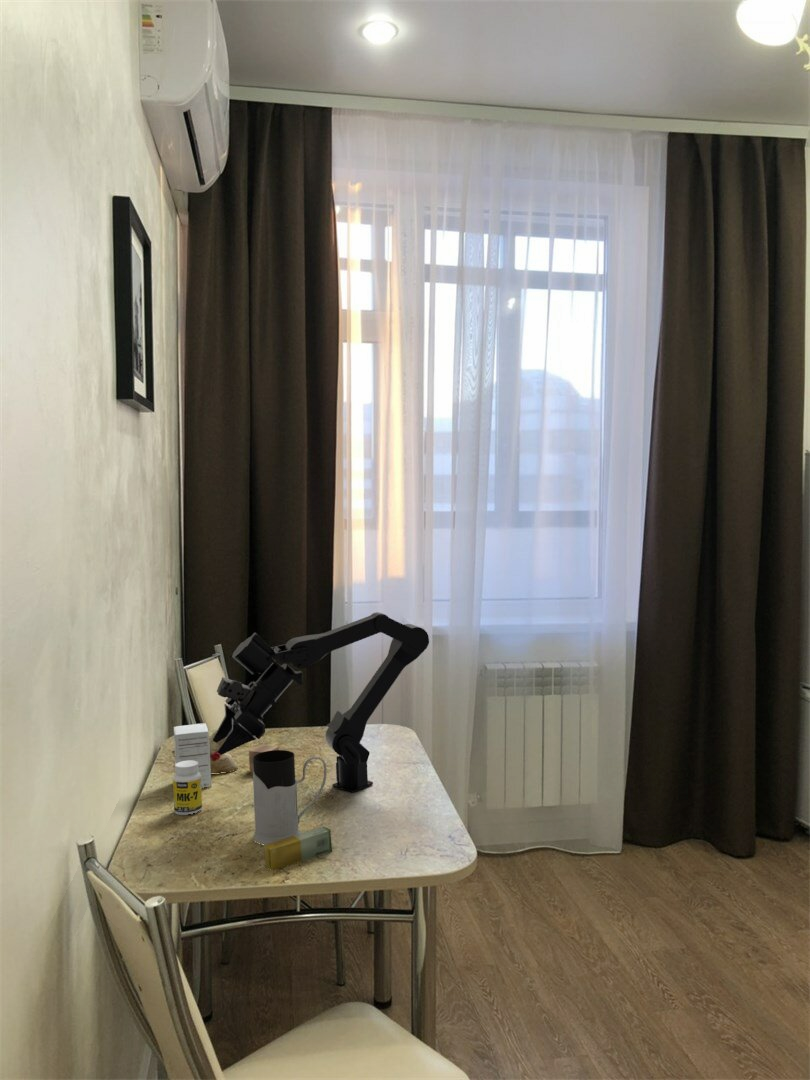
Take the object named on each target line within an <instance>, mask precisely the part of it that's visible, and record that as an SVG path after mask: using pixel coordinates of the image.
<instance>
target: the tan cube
mask: <svg viewBox="0 0 810 1080" xmlns="http://www.w3.org/2000/svg"><path fill="white" fill-rule="evenodd" d="M279 748H280V747H279V746H277V745H269V744H268V745H267V744H259V745H257V746H256V747H254V748H252V749H250V750H248V763H249V764H248V765H249V773H253V771H254V765H253V757H254V756H255V755H257V754H259V753H262V752H266V751H272V750H280V749H279Z"/></svg>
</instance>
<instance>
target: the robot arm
mask: <svg viewBox="0 0 810 1080" xmlns="http://www.w3.org/2000/svg"><path fill="white" fill-rule="evenodd" d="M380 633H382V634H384V635H386V636H388V637H390V638H391V639H392V640H391V642H390V645H389V648H388V651H387V652H388V653H387V655H386V657H385V658H384V660H383V661H382V663H381V664H380V666H379V668H378V669H377V670H376V671H375V672H374V674H373V676H372V677H371V679H370V680H369V681H368V682H367V684H366V685H365V687H364V688H363V690H362V691H361V692H360V694H359V695H358V697H357V699H356V700H355V701H354V702H353V705H352V706H351V707H350V708H349V709H348V710H347V711H345V712H344V713H343V714H342V713H341V712H340V711H339V710H336V713H335V714H334V716H333V718H332V720H331V721H330V722H329V723H327V724H326V727H327V729H326V732H325V741H326V743H327V744H328V746H329V747H330V748H331V749H332V750H333V751H334V752H335V753H336V754H337V755H338V756H336V763H335V775H336V782H334V783H332V784H331V785H332V787H333V788H336V789H339V790H342V791H347V792H348V793H349V792H350V793H355V792H357V791H360V790H363V789H365V788H367V787H371V786H372V785H373V784H374V782H373V781H372V780H371V781H370V780H368V779H369V778H368V777H369V775H368V760H369V756H370V751H369V750H368V749H367V748H366V747H365V746H364V745H363V744H362V743H361V741H362V740H363V737H364V734H365V731H366V728H367V727H366V726H367V724H368V721H369V719H370V718H371V717H372V715H373V713H374V712H375V710H377V708H378V707H379V705H380V704H381V701H382V700H383V699H384V698H385V696H386V695H387V693H388V692H389V690H390V689H391V688H392V686H393V685H394V683H395V681H396V680H397V679H398V677H399V676H400V674H401V673H402V672H403V670H404V669H405V668H406V667H407V666H408V665H410V664H411V663H413V662H414V661H416V659H418V658H419V657H420V656H421V655H422V654H423V653H424V652H425V650H426V649H428V646H429V645H430V637H429V634H428V632H427V631H426V630H425V629H424V628H422V627H420V626H417V625H415V624H411V623H405V624H403V623H401V622H398V621H397V620H395V619H392V618H390V617H389V616H388V615H386V614H384V613H383V612H378V611H377V612H373V613H372V614H370V615H369V616H368V615H367V616H366V617H363V618H360V619H357V620H355V621H352V622H350V623H346V624H344V625H342V626H339V627H337V628H334V629H332V630H328V631H326V632H321V633H317V634H316V633H315V634H308V635H307V634H306V635H302V636H297V637H293V638H291V639H289V640H288V641H287V642H286V643H285V644H281V645H280V644H279V645H276V646H270V645H268V643H266V642H265V640H263V638H262V637H261V636H260V635H259V634H258V633H257V632H253V633H252V635H251V636H249V637H248V638H246V639H244V641H242V642H241V643H240V644H238V646H237V647H236V649H235V650H234V652H233V653H232V655H231V656H232V658H233V659H234V660H235V661H236V662H238V664H240V665H241V666H242V667H244V668H245V669H246V670H247V671H248V672H249V673H250V674H251V675H254V674H256V673H257V674H261V676H259V678H258V679H257V680H256V681H255V680H253V681H251V682H249V684H243V683H242V682H241V681H237V680H236V679H233V680H232V679H230V678H227V677H223V676H222V677H221V680H220V682H219V685H218V687H217V689H216V693H217V695H218V696H220V697H222V698H226V699H225V700H224V701H225V703H224V705H223V706H224V717H223V719H222V720H221V723H220V724H219V727H218V728H217V729H216V730H217V732H216V734H215V736H214V738H213V741H214V742H216V743H217V742H219V741H221V740H222V739H224V738H225V740H224V741H223V743H222V744H221V746H220V748H219V749H218V753H219V754H220V755H223V754H225V753H227V754H228V753H229V752H231V751H232V750H235V749H237V748H239V747H241V746H243V745H245V744H248V743H249V742H252V741H256V740H257V739H258V740H260V739H261V738H262V737H263V736H264V734H265V733H266V725H265V723H264V722H263V720H264V719H265V718H264V717H263V716H264V715H265V714H266V712H268V711H269V709H270V708H271V707H275V706H276V705H277V704H278V702H277V701H278V699H279V698H280V697H281V695H282V694H283V693H284V692H285V691H286V689H287V688H288V687H289V686H290V685H291V684H292V683H293V682H295V683H296V684H297V685H298V686H300V687H303V685H304V684H303V674H304V673H303V672H302V671H301V670H298V671H297V670H296V671H295V670H294V668H292V667H291V666H290V665H289V664H291V665H292V666H293V667H296V668H297V669H307V668H309V667H311V666H313V665H315V664H316V663H318V662H319V661H321V660H322V659H323V658H324V657H325V656H327V655H328V654H330V653H331V652H334V651H335V650H339V649H340V648H341V649H342V648H343V647H346V646H349V645H351V644H354V643H356V642H359V641H362V640H364V639H367V638H369V637H372V636H375V635H378V634H380ZM274 657H276V658H277V660H279V661H280V662H282V663H283V664H281V665H280V663H278V662H277V661H276V659H274ZM287 663H288V664H287Z"/></svg>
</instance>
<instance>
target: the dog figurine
mask: <svg viewBox="0 0 810 1080" xmlns="http://www.w3.org/2000/svg"><path fill="white" fill-rule="evenodd" d="M217 730H218V729H216V730H215V731H213V733H212V734H211V736H209V745H210V768H211V773H221V772H230V771H233V770H236V769H238V770H239V768H238V764H237V763H236V761H235V759H234V758H233V756H232V755H231V754H230V753H228V752H227V753H225V754H223V755H220V754H219V753H218V749H219V748H220V746H221V744H222V743H223V741H224V740H225V738H224V739H222V740H221V741H219V742H217V743H216V742H214V741H213V738H214V736H215V734H216V732H217ZM236 771H237V770H236ZM233 772H234V771H233ZM230 773H231V772H230Z"/></svg>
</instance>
